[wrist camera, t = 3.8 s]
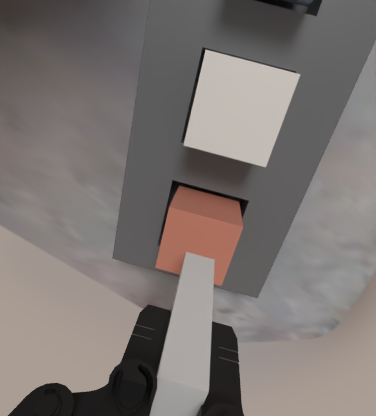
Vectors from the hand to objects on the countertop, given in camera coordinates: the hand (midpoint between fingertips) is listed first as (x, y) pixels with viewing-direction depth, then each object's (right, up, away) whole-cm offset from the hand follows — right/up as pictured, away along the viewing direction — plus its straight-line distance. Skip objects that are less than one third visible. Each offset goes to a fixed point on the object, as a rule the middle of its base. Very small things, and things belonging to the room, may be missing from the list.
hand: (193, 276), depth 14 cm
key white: (+3, +10, +3) cm, 10 cm away
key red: (+1, +3, +6) cm, 6 cm away
